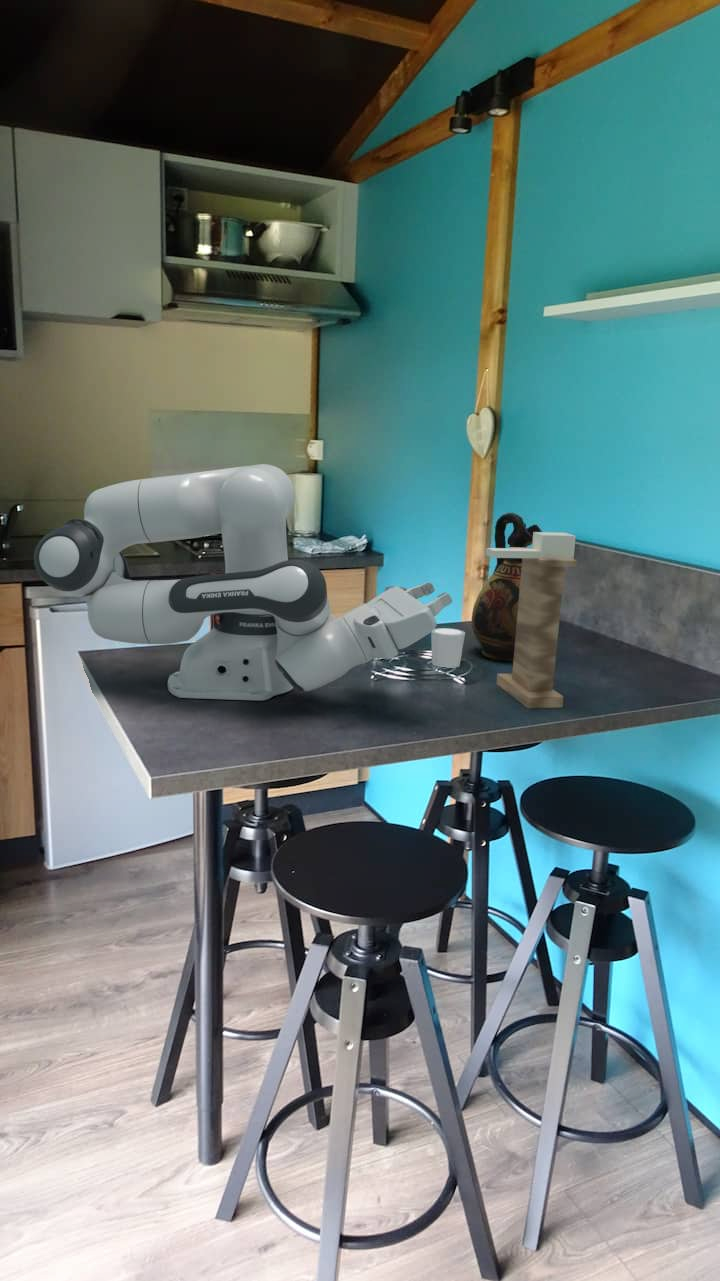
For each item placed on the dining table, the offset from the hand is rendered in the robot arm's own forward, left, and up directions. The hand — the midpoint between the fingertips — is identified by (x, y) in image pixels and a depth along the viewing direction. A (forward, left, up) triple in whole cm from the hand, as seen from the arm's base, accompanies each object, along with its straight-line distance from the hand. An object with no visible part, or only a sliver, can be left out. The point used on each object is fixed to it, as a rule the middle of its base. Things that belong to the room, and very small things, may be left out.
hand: (440, 591), depth 156 cm
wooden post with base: (+19, +4, -20) cm, 28 cm away
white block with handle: (+15, 0, +6) cm, 17 cm away
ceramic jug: (+26, +32, -20) cm, 46 cm away
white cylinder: (+11, +25, -20) cm, 34 cm away
